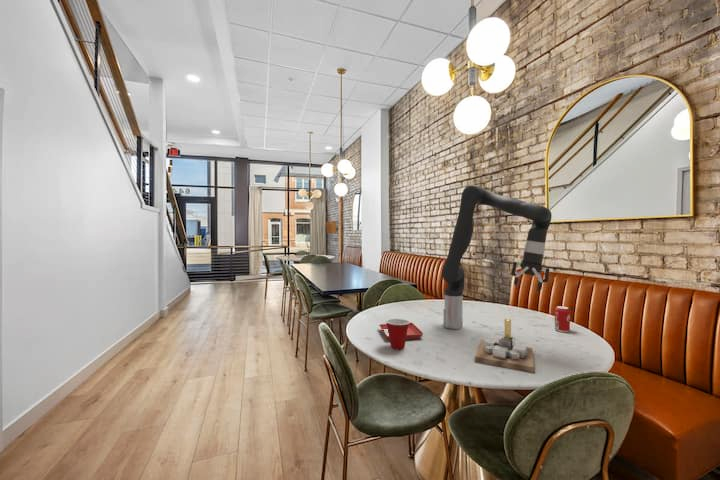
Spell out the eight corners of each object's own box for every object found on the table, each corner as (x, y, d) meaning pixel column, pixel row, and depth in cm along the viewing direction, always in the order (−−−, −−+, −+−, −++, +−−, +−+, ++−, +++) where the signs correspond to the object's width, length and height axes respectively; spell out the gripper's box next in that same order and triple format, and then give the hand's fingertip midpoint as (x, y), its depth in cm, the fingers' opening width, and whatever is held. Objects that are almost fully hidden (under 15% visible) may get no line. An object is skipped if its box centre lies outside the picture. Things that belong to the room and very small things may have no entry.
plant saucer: (386, 343, 138) (386, 336, 138) (378, 330, 156) (378, 324, 156) (424, 340, 141) (424, 333, 141) (412, 328, 158) (412, 322, 158)
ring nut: (520, 362, 110) (520, 352, 110) (479, 352, 120) (479, 342, 120) (529, 350, 121) (529, 340, 121) (491, 341, 131) (491, 332, 131)
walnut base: (474, 361, 117) (474, 345, 116) (481, 344, 134) (481, 329, 134) (533, 372, 107) (534, 354, 107) (532, 352, 125) (532, 337, 125)
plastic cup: (412, 344, 135) (411, 318, 135) (407, 353, 125) (407, 325, 125) (388, 341, 139) (388, 316, 138) (382, 350, 129) (382, 322, 128)
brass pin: (504, 348, 124) (504, 320, 123) (504, 346, 126) (504, 318, 126) (511, 349, 123) (511, 320, 123) (510, 347, 125) (510, 319, 125)
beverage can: (572, 333, 147) (572, 309, 147) (558, 332, 149) (558, 308, 148) (566, 329, 154) (566, 306, 153) (552, 328, 155) (552, 305, 155)
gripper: (514, 249, 131) (508, 285, 133) (552, 255, 123) (545, 293, 124) (517, 249, 138) (510, 283, 139) (553, 255, 129) (546, 291, 130)
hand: (527, 288), depth 131 cm, fingers open, 8 cm apart
